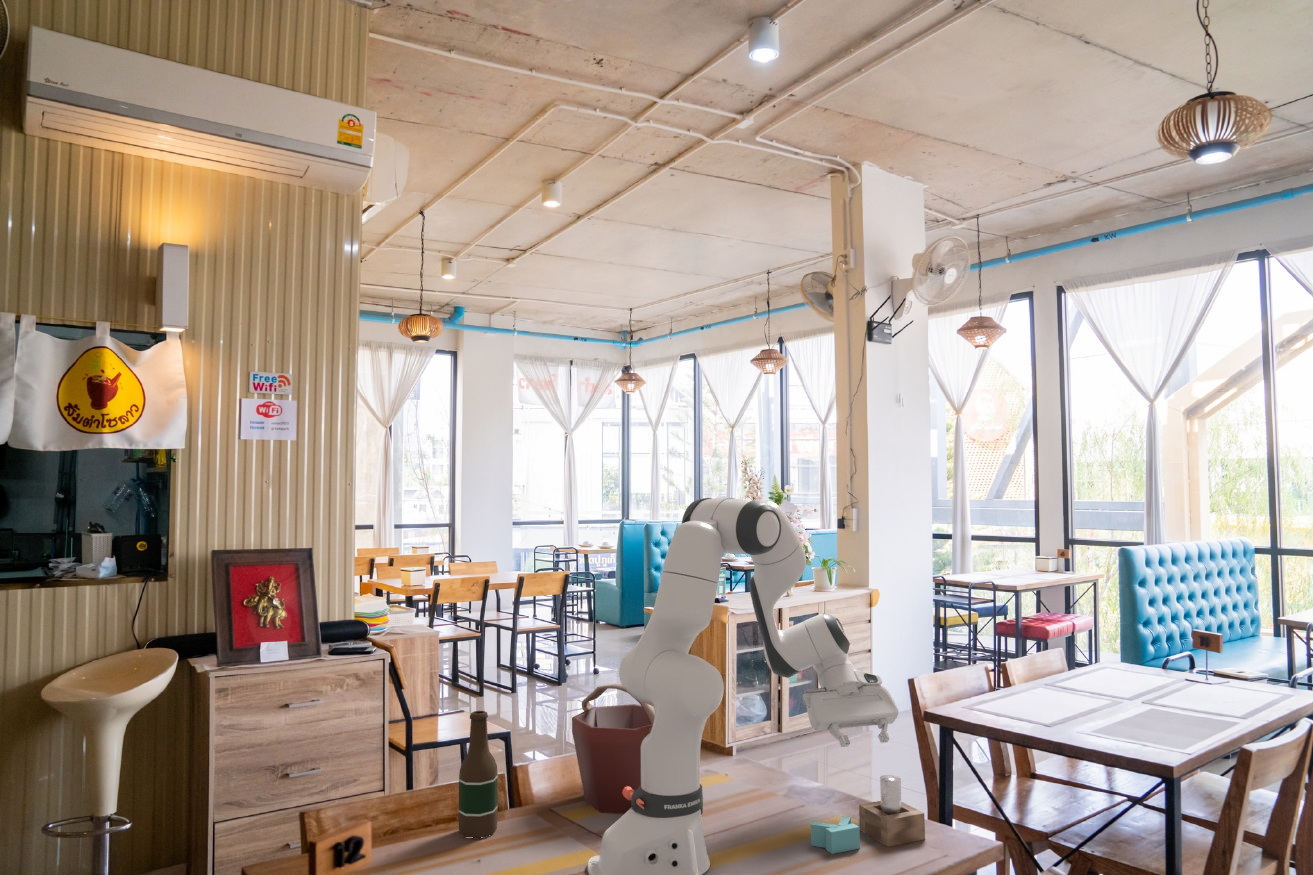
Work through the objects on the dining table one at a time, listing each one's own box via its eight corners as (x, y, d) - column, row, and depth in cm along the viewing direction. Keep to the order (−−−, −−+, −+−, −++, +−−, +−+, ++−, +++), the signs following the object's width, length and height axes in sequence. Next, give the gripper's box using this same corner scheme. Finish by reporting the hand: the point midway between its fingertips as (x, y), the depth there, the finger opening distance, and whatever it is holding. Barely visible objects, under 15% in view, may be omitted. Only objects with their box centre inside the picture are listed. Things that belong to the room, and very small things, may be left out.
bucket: (559, 791, 194) (559, 682, 196) (644, 776, 204) (643, 672, 206) (603, 827, 172) (603, 704, 174) (695, 808, 183) (694, 691, 185)
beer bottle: (450, 835, 169) (451, 714, 171) (475, 822, 176) (476, 705, 178) (480, 842, 165) (481, 718, 167) (505, 828, 172) (505, 709, 174)
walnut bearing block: (887, 846, 162) (887, 820, 162) (859, 829, 170) (858, 804, 170) (925, 839, 165) (924, 813, 165) (895, 823, 173) (895, 798, 174)
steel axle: (890, 839, 165) (888, 782, 166) (877, 832, 168) (875, 776, 169) (906, 836, 166) (904, 779, 167) (893, 829, 170) (892, 773, 171)
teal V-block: (825, 855, 158) (824, 833, 158) (808, 843, 163) (807, 822, 164) (866, 846, 162) (865, 825, 162) (848, 835, 167) (847, 815, 167)
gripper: (803, 681, 182) (826, 739, 172) (886, 675, 188) (912, 731, 178) (795, 698, 186) (816, 755, 176) (876, 691, 192) (901, 746, 182)
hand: (865, 743), depth 177 cm, fingers open, 8 cm apart
